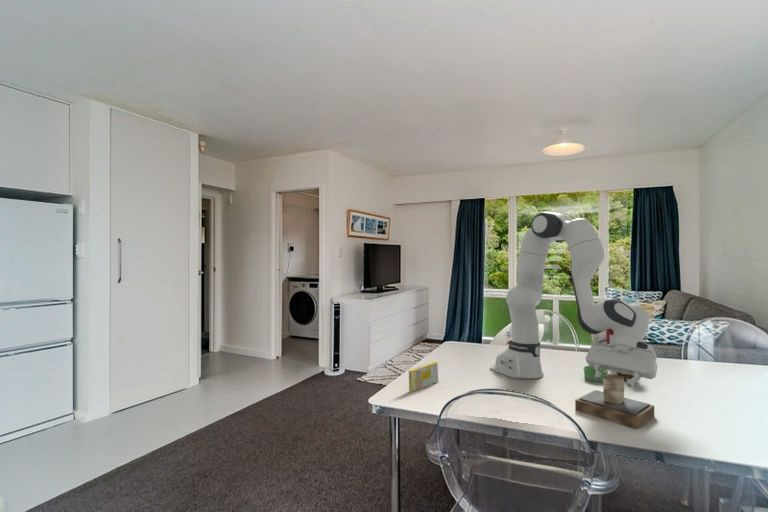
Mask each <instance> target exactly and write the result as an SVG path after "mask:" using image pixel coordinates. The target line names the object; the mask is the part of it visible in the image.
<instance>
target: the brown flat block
mask: <svg viewBox="0 0 768 512" xmlns="http://www.w3.org/2000/svg"><path fill="white" fill-rule="evenodd" d="M574 407H575V409H574V410H575V411H576V412H580V413H583V414H586V415H590V416H593V417H597V418H600V419H603V420H605V419H606V421H608V420H609V422H611V421H612V423H614V424H618V425H622V426H624V427H627V426H628V428H630V429H633V430H639V429H640V428H641V427H643V426H645V424H647V423H648V422H650V421H651V420H652V419H653V418H655V405H653V404H650V403H646V402H643V401H639V400H637V399H636V400H635V399H631V398H627V397H624V402H622V403H621V404H619V405H617V404H614V403H610V402H606V401H604V396H603V391H600V390H597V389H596V390H592V391H590V392H588V393H586V394H584V395H581V396H579V397H578V398H576V399H575V405H574Z"/></svg>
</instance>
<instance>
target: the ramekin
mask: <svg viewBox="0 0 768 512" xmlns="http://www.w3.org/2000/svg"><path fill="white" fill-rule="evenodd" d="M582 369H583V372H584V379H586V380H587V381H590V382H594V381H595V382H596V383H603V376H605V375H607V374H609V370H606V369H601V371H599V372H600V373H601V374H602V379H601V380H600V379H596V378H595V374H596V370H595V367H592V366H589V365H585V366H583V368H582ZM595 382H594V383H595Z"/></svg>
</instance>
